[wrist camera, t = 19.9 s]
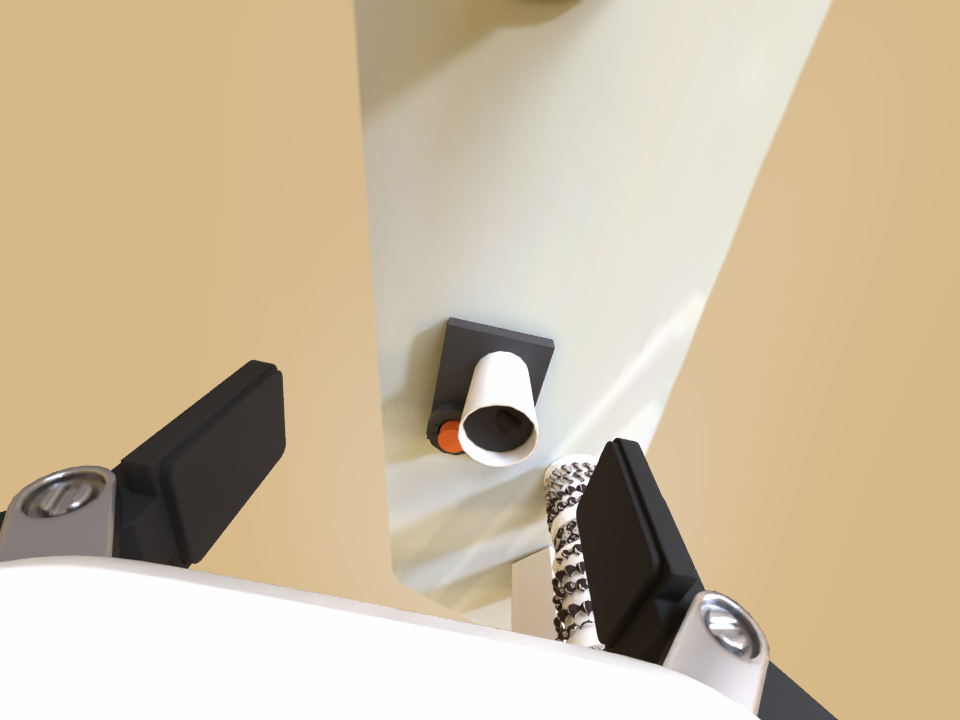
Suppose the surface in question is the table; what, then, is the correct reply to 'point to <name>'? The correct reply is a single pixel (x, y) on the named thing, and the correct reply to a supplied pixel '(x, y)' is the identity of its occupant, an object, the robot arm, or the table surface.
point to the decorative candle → (570, 550)
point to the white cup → (499, 412)
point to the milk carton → (534, 595)
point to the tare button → (450, 436)
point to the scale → (464, 354)
